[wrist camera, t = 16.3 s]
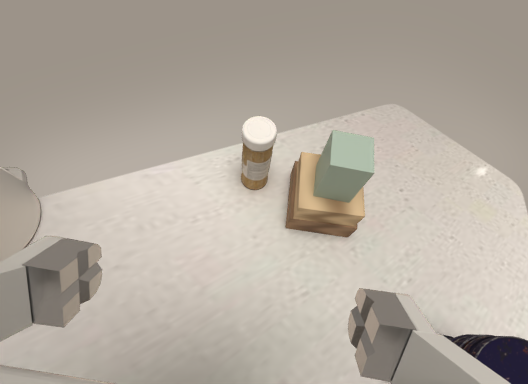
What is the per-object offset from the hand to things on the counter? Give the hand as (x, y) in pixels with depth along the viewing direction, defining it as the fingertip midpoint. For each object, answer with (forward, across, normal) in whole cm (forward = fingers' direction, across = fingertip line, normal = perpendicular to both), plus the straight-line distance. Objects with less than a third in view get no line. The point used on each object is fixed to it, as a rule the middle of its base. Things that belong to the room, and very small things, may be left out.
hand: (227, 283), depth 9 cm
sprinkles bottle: (+40, +1, +8) cm, 40 cm away
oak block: (+34, -10, +7) cm, 37 cm away
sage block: (+32, -10, +4) cm, 33 cm away
